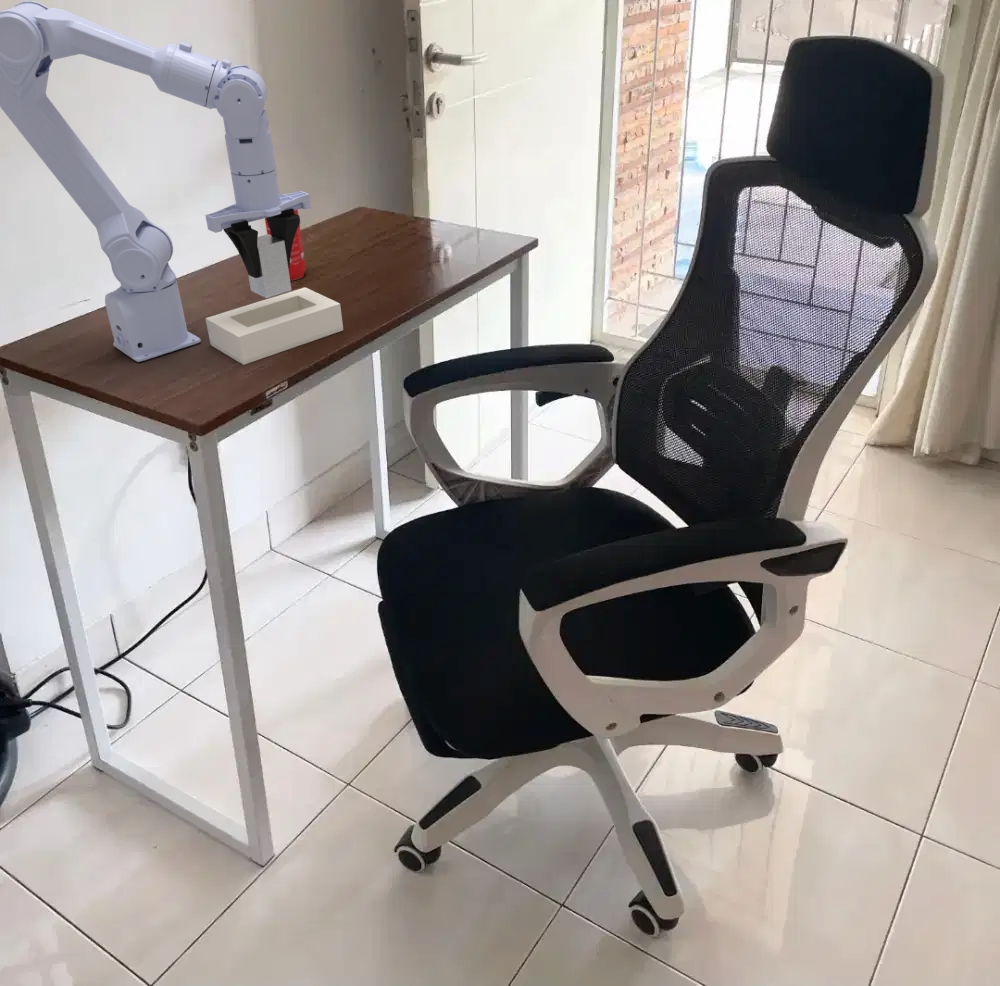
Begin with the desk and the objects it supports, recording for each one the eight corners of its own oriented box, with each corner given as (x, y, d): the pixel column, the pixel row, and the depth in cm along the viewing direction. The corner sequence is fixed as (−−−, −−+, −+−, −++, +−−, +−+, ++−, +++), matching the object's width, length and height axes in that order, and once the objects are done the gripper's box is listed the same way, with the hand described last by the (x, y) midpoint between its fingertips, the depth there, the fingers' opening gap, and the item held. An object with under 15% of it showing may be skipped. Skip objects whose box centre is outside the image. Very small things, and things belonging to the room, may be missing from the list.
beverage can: (299, 282, 159) (288, 207, 152) (269, 280, 160) (257, 205, 153) (311, 271, 163) (301, 197, 157) (281, 269, 164) (270, 196, 158)
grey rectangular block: (266, 298, 136) (258, 247, 132) (250, 290, 138) (242, 241, 134) (291, 290, 138) (284, 240, 134) (275, 283, 140) (268, 234, 137)
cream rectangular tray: (243, 364, 133) (238, 337, 131) (210, 345, 139) (205, 318, 137) (343, 330, 142) (340, 303, 140) (308, 313, 148) (305, 287, 146)
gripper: (218, 187, 122) (237, 293, 130) (318, 164, 131) (330, 265, 138) (190, 177, 127) (210, 279, 134) (288, 155, 135) (301, 253, 142)
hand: (269, 271), depth 136 cm, fingers closed on grey rectangular block, 4 cm apart
